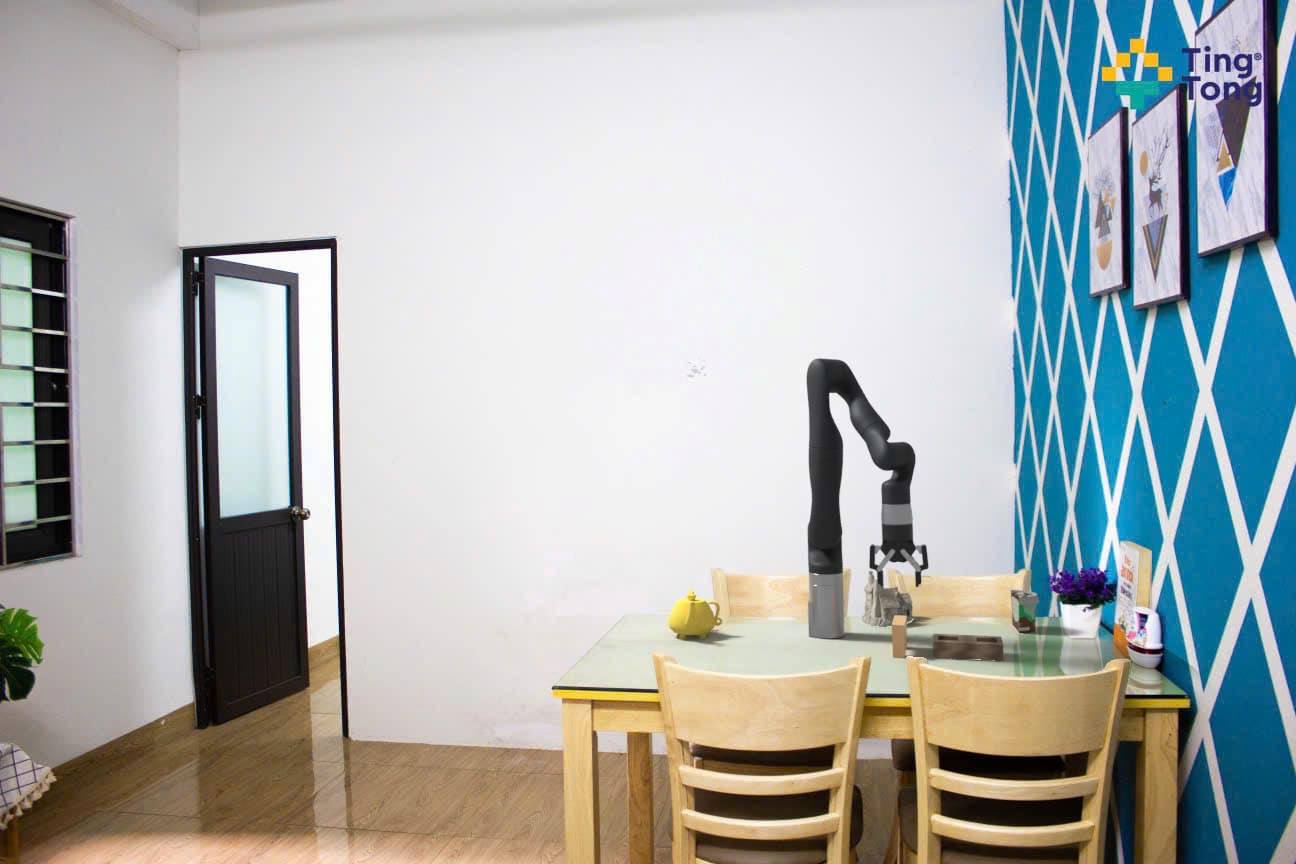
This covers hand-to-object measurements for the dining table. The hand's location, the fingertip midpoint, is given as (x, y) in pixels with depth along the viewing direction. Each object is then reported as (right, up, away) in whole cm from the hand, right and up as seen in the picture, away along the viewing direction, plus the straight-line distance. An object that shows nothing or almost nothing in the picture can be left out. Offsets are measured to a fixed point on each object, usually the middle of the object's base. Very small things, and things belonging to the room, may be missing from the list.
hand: (899, 586), depth 231 cm
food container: (+41, -16, +21) cm, 49 cm away
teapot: (-50, -18, +24) cm, 58 cm away
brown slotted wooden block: (+15, -16, -5) cm, 23 cm away
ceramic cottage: (+7, -17, +36) cm, 41 cm away
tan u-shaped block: (0, -16, 0) cm, 16 cm away
